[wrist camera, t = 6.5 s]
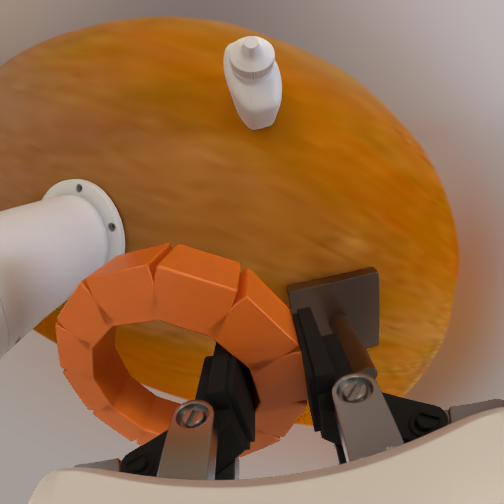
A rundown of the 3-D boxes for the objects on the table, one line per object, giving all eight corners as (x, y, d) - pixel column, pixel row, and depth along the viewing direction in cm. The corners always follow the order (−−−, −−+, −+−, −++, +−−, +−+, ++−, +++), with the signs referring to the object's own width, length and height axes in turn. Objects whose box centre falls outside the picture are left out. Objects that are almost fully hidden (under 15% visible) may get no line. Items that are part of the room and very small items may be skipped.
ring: (136, 424, 13) (125, 454, 11) (53, 272, 10) (22, 292, 8) (309, 412, 12) (316, 447, 10) (275, 218, 9) (282, 234, 7)
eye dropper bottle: (283, 78, 21) (306, 11, 9) (270, 134, 22) (285, 101, 11) (236, 69, 21) (221, -2, 9) (222, 125, 22) (191, 85, 11)
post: (298, 356, 29) (312, 424, 19) (286, 285, 26) (301, 346, 17) (374, 338, 28) (409, 396, 19) (372, 266, 26) (422, 313, 16)
